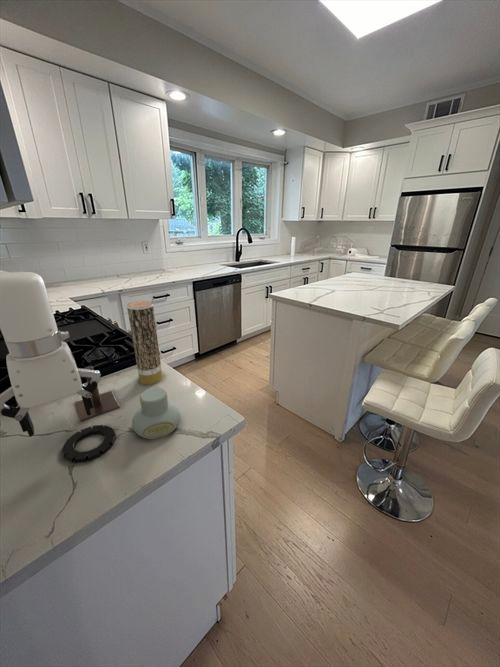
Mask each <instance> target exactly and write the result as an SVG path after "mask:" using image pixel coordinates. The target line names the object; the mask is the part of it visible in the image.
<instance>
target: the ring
mask: <svg viewBox="0 0 500 667" xmlns="http://www.w3.org/2000/svg"><path fill="white" fill-rule="evenodd" d="M95 435H101V436H103V437H104V439H103V440H102V443H100V444H99V445H98V446H96V447H94V448H92V449H90V450H86V451H85V450H83V451H79V450H77V449H75V448H76V446H77V445H78V443H80V442H81V441H82V440H84V439H86V438H87V437H90V436H95ZM116 439H117V436H116V433H115V430H114V428H112V427H111V426H108V425H106V424H104V425H103V424H96V425H95V424H94V425H92V426H88V427H85V428H82V429H80V431H79V430H78V431H76V432H75V433H73V434H72V435H70V436H69V438H67V439H66V441H65V443H64V444H63V445H62V454H63V458H64V459H65V460H66V461H68V462H70V463H74V464H79V463H80V464H81V463H87V462H88V461H89V462H91V461H93V460H95V459H98V458H100V457H102V455H105V454H106V453H107V452H108V451H109V450H111V449H112V447H113V446H114V444H115V442H116Z"/></svg>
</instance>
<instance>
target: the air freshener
mask: <svg viewBox="0 0 500 667" xmlns="http://www.w3.org/2000/svg"><path fill="white" fill-rule="evenodd" d="M139 402H140V407H139V408H138V409H137V411H136V412H135V413H134V415H133V416H132V420H131V426H132V429H133V431H134V432H135V434H137V435H138V436H139V437H141V438H143V439H147V440H154V439H157V438H162V437H165V436H168V435H170V434H171V433H172V432H173V431H175V430H176V429H177V427H178V426H179V425H180V424H179V423H180V421H181V411H180V409H179V408H178V406H177V405H176V404H174V403H173V402H170V401H169V400H168V393H167V390H165V389H164V388H161V387H151V388H148V389H145V390H144V391H143V392H142V393H141V394H140V396H139Z"/></svg>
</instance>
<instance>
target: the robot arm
mask: <svg viewBox="0 0 500 667" xmlns="http://www.w3.org/2000/svg"><path fill="white" fill-rule="evenodd" d="M0 332H1V334H2V336H3V340H4V343H5V345H6V348H7V350H8V354H6V356H5V357H6V358H5V359H6V368H7V373H8V377H9V381H10V385H11V386H10V387H8V388H7V389H5V390H4V391H3V392H1V393H0V415H1V416H4V417H7V418H11V419H14V421H17V422H18V423H19V425H20V428H21V430H22V433H25V432H27V434H28V437H29V438H31V437H33V436H34V435H35V426H34V423H33V421H32V418H31V416H30V413H29V410H30V408H31V409H32V408H35V407H39V406H41V405H45V404H48V403H51V402H55V401H58V400H61V399H64V398H67V397H70V396H73V395H75V394H76V395H79V396H81V400H83V403H84V407H85V410H86V413H87V415H91V412H90V409H92V408H93V405H92V401H91V396H92V393H93V391H94V390H95V389H96V387H97V386H99V382H100V378H101V376H102V374H101V372H100V370H98V369H97V370H95V369H94V370H88V369H84V368H79V367H78V365H77V362H76V360H75V357H74V354H73V353H72V350H71V348H70V347H69V345H68V343H67V342H65V340H66V339H70V338H71V337H70V333H69V331H68V330H66V331H61V330H59V329H58V325H57V322H56V319H55V315H54V311H53V308H52V305H51V302H50V298H49V294H48V291H47V287H46V285H45V281H44V279H43V278H42V276H41V275H39V274H38V273H36V272H32V271H16V272H15V271H12V272H10V271H5V270H1V269H0ZM86 377H89V378H91V381H90V382H89V383H87V384H86V385H85V384H82V378H86ZM13 397H15V398H14V399H15V401H16V403H17V406H12V405H8V404H6V402H8V401H9V400H10V399H11V398H13Z"/></svg>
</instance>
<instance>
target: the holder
mask: <svg viewBox="0 0 500 667" xmlns="http://www.w3.org/2000/svg"><path fill="white" fill-rule="evenodd" d="M83 369H88V370H95V369H94V366H92V365H88V366H85V367H84V368H83ZM85 378H86V379H85V380H86V383H87V384H88V383H89V382H90V381H91V378H89V377H85ZM98 386H99V385H98ZM98 386H97V387H96V389H95V390H94V391H93V393H92V396H91V401H92V405H93V408H92V409H90V412H91V415H87V413H86V410H85V407H84V403H83V400H82V399H81V400H78V401H75V406H76V409H77V413H78V417H79V420H80V422H81V423H82V422H85V421H88V420H90V419H93V418H96V417H98V416H101V415H104V414H106V413H110V412H112V411H115V410H118V409H121V406H120V405H119V404H120V403H119V402H118V400H117V399H116V397H115V394H114V393H113V390H108V391H106V392H103V393H100V391H99V387H98Z"/></svg>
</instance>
